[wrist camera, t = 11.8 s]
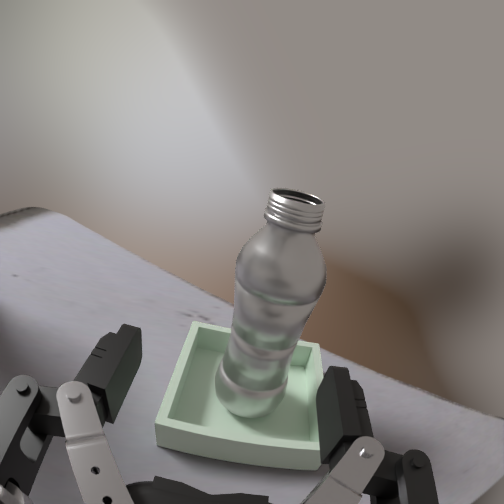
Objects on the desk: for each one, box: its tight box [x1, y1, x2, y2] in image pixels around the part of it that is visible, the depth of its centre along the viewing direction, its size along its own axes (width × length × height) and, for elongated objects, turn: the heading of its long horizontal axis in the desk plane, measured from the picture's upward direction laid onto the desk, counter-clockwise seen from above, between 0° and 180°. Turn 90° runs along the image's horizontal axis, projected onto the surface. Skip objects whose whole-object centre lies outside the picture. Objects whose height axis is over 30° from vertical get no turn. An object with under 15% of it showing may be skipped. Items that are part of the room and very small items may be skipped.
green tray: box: [155, 321, 324, 471], centre depth 28 cm, size 14×14×4 cm
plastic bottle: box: [215, 188, 326, 418], centre depth 24 cm, size 6×7×20 cm
